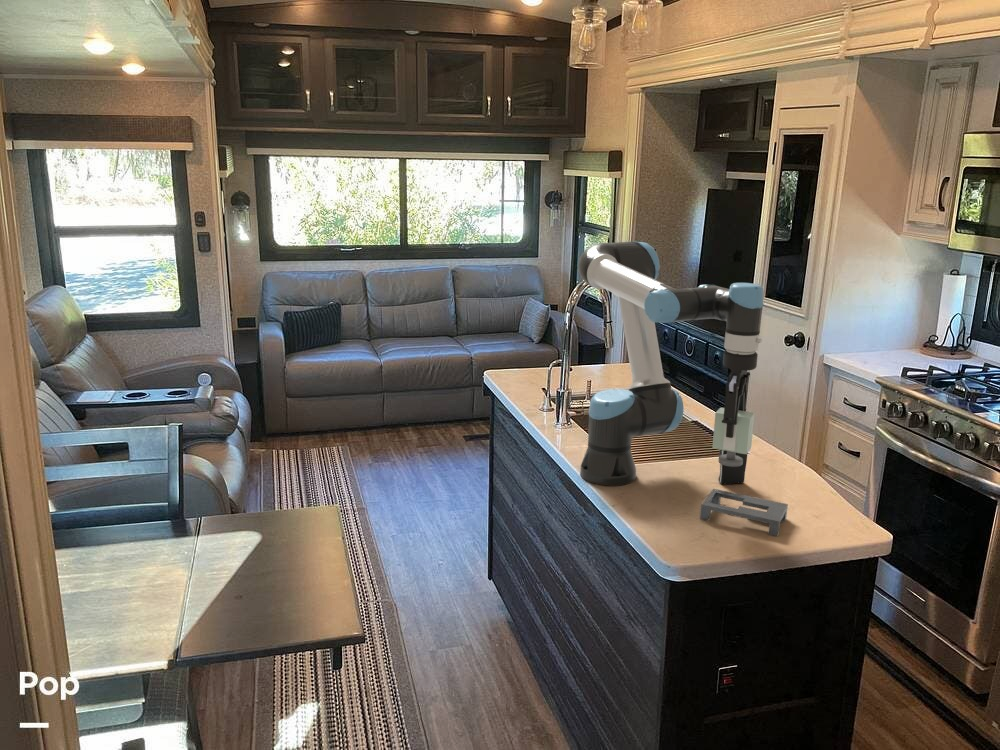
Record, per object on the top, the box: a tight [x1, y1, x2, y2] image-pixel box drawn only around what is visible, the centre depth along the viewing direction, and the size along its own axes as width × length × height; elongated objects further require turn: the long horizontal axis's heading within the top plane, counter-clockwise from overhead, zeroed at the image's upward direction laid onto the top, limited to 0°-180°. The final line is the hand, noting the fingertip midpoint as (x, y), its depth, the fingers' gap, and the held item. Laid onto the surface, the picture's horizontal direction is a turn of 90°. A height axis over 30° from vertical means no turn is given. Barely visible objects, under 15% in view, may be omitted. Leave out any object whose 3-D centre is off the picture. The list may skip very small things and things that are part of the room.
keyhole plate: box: [699, 488, 789, 537], centre depth 189 cm, size 18×11×4 cm, turn 60°
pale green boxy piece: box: [712, 407, 756, 467], centre depth 187 cm, size 8×6×12 cm
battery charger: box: [718, 449, 748, 485], centre depth 210 cm, size 7×4×11 cm, turn 100°
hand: (731, 445), depth 187 cm, fingers closed on pale green boxy piece, 5 cm apart
